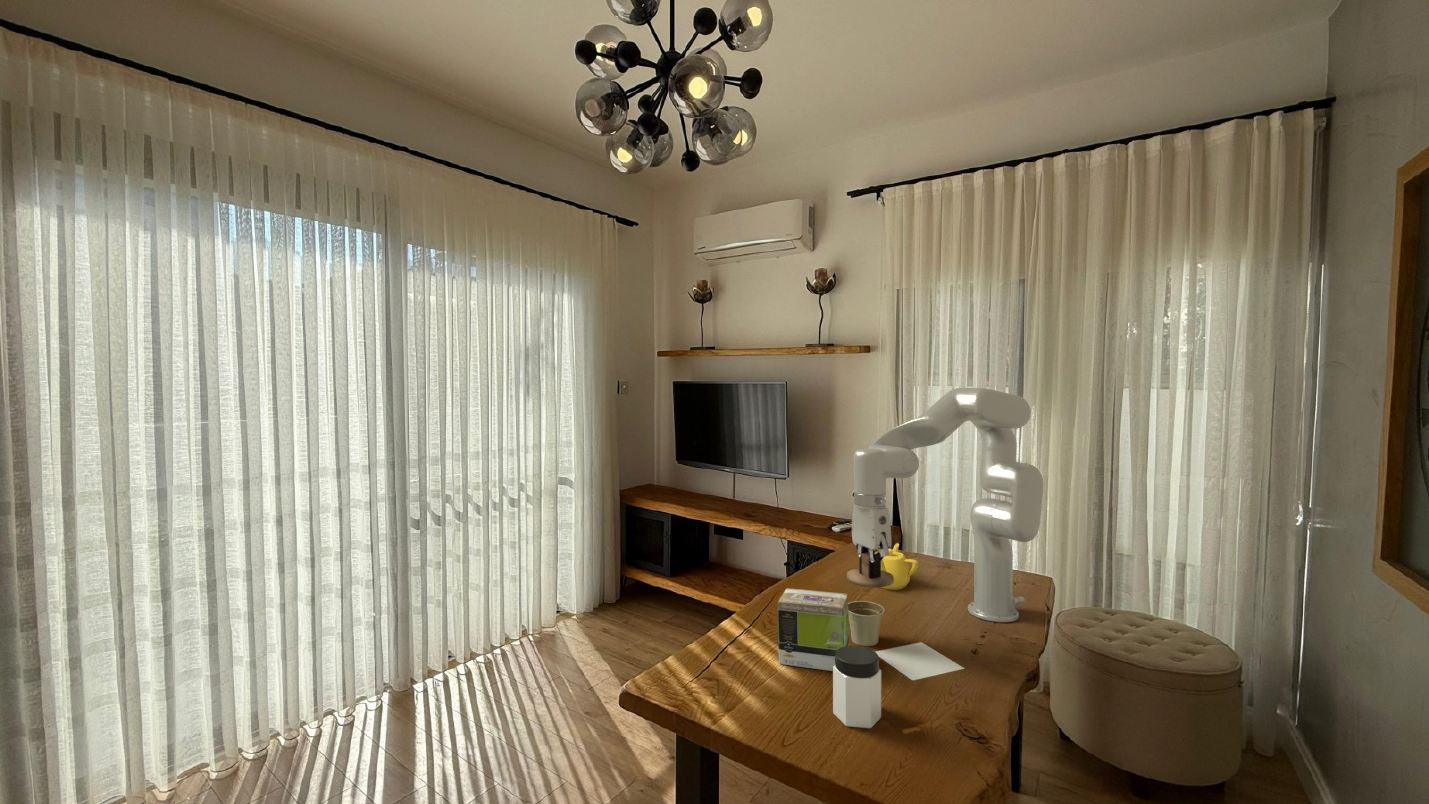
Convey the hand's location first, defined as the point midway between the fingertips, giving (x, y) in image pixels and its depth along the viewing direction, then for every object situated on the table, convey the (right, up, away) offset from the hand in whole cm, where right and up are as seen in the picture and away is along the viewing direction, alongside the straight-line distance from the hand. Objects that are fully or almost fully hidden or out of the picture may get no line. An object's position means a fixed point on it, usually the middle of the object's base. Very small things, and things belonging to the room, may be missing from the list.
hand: (870, 574), depth 141 cm
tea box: (-15, -18, -7) cm, 24 cm away
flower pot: (-1, -17, +2) cm, 18 cm away
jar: (-10, -19, -30) cm, 36 cm away
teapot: (+19, -16, +43) cm, 50 cm away
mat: (+8, -17, -9) cm, 21 cm away
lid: (0, -1, 0) cm, 1 cm away
